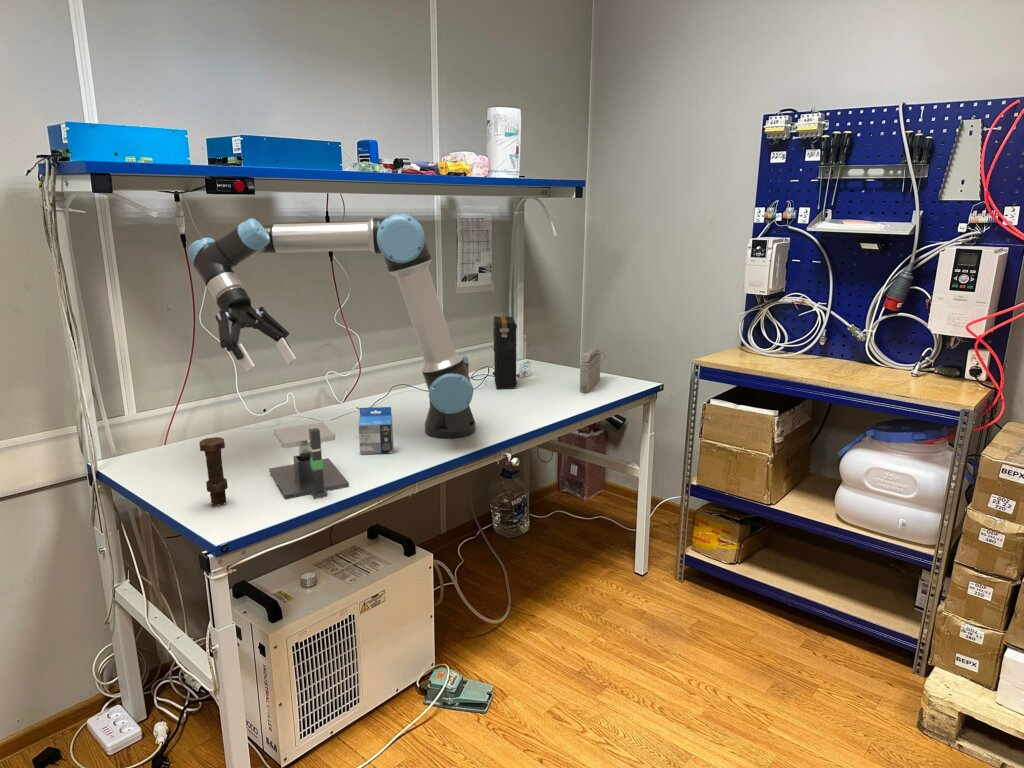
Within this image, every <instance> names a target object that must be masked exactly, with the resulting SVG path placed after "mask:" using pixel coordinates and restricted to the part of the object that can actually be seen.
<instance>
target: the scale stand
mask: <svg viewBox="0 0 1024 768" xmlns="http://www.w3.org/2000/svg"><path fill="white" fill-rule="evenodd" d="M309 440H310V452H311V458H310V460H306V461H303V460H300V456H299V454H298V455H293V457H292V458H293V463H292V464H288V465H282V466H274V467H270V468H268V470H269V474H270V475H271V478H272V479H273V481H274V483H275V485H276V486H277V488H278V489H279V492H280V493H281V495H282V497H283V498H284V500H287V499H294V498H298V497H304V496H308V495H311V496H312V497H313V499H319V498H325V497H328V492H329V491H333V490H332V489H334V490H338V489H337V488H339V489H343V488H342V487H345V488H348V487H347V486H349V487H350V482H349V481H348V480H347V478H346V477H345V476H344V475H343V474H342V473H341V471H340V470H339V469H338V467H336V465H335V464H334V463H333V461H331V460H330V458H328V457H325V458H323V456H322V444H321V443H322V442H321V441H320V430H319V429H318V428H314V429H309ZM328 490H329V491H328ZM327 491H328V492H327ZM324 496H325V497H324Z"/></svg>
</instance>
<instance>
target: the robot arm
mask: <svg viewBox="0 0 1024 768" xmlns="http://www.w3.org/2000/svg"><path fill="white" fill-rule="evenodd" d="M339 251H340V252H345V251H347V252H353V251H354V252H356V251H357V252H358V251H371V253H373V254H374V255H375V254H376V255H378V254H379V255H380V254H381V255H382V256H383V258H384V263H385V265H386V268H387V270H388V273H389V275H390V274H391V275H392V276H394V277H396V279H397V282H398V286H399V288H400V292H401V294H402V296H403V299H404V303H405V306H406V308H407V311H408V312H407V313H408V315H409V318H410V320H411V324H412V326H413V327H412V328H413V330H414V332H415V333H414V334H415V336H416V338H417V339H416V340H417V342H418V346H419V349H420V350H421V354H422V357H423V360H424V364H423V366H422V368H421V373H422V375H423V377H424V382H425V384H426V388H427V389H428V399H429V408H428V412H427V415H426V419H425V421H424V432H425V434H426V435H428V436H430V437H434V438H439V439H454V438H455V439H456V438H457V437H458V438H463V437H467V436H469V435H472V434H474V433H475V432H476V421H475V418H474V414H473V412H472V410H471V409H472V408H471V407H470V404H471V402H472V399H473V396H474V387H473V383H472V382H471V379H470V374H469V372H470V371H469V365H470V363H469V357H468V356H467V355H465V354H458V353H457V352H456V350H455V346H454V344H453V340H452V338H451V335H450V331H449V329H448V328H449V327H448V325H447V321H446V319H445V315H444V312H443V310H442V306H441V303H440V300H439V296H438V294H437V290H436V286H435V284H434V281H433V277H432V276H431V272H430V269H429V267H430V264H431V262H432V256H431V253H430V249H429V246H428V243H427V240H426V237H425V232H424V230H423V226H422V224H421V223H420V222H419V220H418V219H416V217H414V216H412V215H410V214H407V213H395V214H392V215H390V216H385V217H383V216H382V217H372V218H370V220H369V221H358V222H357V221H355V222H354V221H352V222H350V221H349V222H348V221H347V222H322V223H321V222H319V223H318V222H317V223H316V222H315V223H283V224H282V223H281V224H276V223H275V224H262V223H260V222H259V221H258V220H257V219H255V218H248V219H246V220H245V221H243V222H241V223H239V224H238V225H237V226H236V227H234V228H233V229H232V230H230V231H229V232H227V233H225V235H223V236H221V237H220V238H219V239H217V240H215V239H213V238H212V237H202V238H200V239H198V240H195V241H193V242H192V243H191V244H190V245H189V247H188V250H187V255H188V257H189V259H190V261H191V263H192V266H193V267H194V269H195V270H196V271H197V273H198V275H199V277H200V278H201V280H202V281H203V283H204V284H205V287H206V288H207V289H208V291H209V293H210V294H211V296H212V298H213V299H214V301H216V305H217V307H218V308H219V312H218V313H217V314H216V315H215V316H214V317H215V319H216V321H217V325H218V336H219V344H220V345H219V346H220V348H221V349H226V351H227V352H232V355H234V357H235V359H236V360H238V361H239V363H240V364H241V366H242V368H243V369H244V371H245V373H246V374H247V373H250V372H251V371H252V370H253V369H254V368H255V367H256V365H255V364H254V362H253V361H252V358H251V357H250V355H249V353H248V351H247V350H246V348H245V347H244V345H243V343H239V339H240V334H241V329H245V328H252V329H254V330H258V331H259V332H261V333H263V334H264V335H265V336H267V337H269V338H271V339H272V340H274V341H275V345H276V348H277V349H278V350H279V352H280V354H281V356H282V358H283V359H284V360H285V362H286V363H287V365H288V366H289V365H290V366H291V364H292V363H294V362H295V361H296V359H297V357H296V356H295V354H294V353H293V351H292V347H291V345H290V344H289V342H288V341H287V339H286V338H288V336H289V335H290V332H289V331H288V330H287V329H285V328H284V327H283V326H282V325H281V324H280V323H279V321H277V320H276V319H275V318H274V317H272V316H271V315H270V314H269V313H268V311H266V309H265V308H264V307H263V306H259V307H258V308H257V309H255V308H254V307H253V306H252V303H251V302H252V300H251V299H252V298H250V296H249V295H248V293H247V291H246V289H245V288H244V286H243V284H242V282H241V281H240V279H239V277H238V276H237V275H236V273H235V271H234V270H233V268H235V267H237V266H238V265H239V264H241V263H242V262H244V261H245V260H247V259H248V258H250V257H252V256H255V255H258V254H259V255H260V254H275V253H276V254H278V253H311V252H339ZM229 322H231V326H230V324H229Z"/></svg>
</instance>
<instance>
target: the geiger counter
mask: <svg viewBox="0 0 1024 768" xmlns="http://www.w3.org/2000/svg"><path fill="white" fill-rule="evenodd" d="M601 354H602V355H603V356H604V357H603V358H602V359H601ZM605 359H606V354H605V353H604V352H602V351H601V350H599V347H598V346H597V345H596V346H593V347H592V348H591V349H590V350H587V352H585V353H583V354H582V355H581V356H580V360H581V362H579V363H580V364H579V365H580V366H579V367H580V368H579V369H580V370H579V393H581V394H589V393H590V391H591V390H592V389H594V387H595V386H597V384H598V383H599V382H600V381H601V363H602V362H603V361H604V360H605Z"/></svg>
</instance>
